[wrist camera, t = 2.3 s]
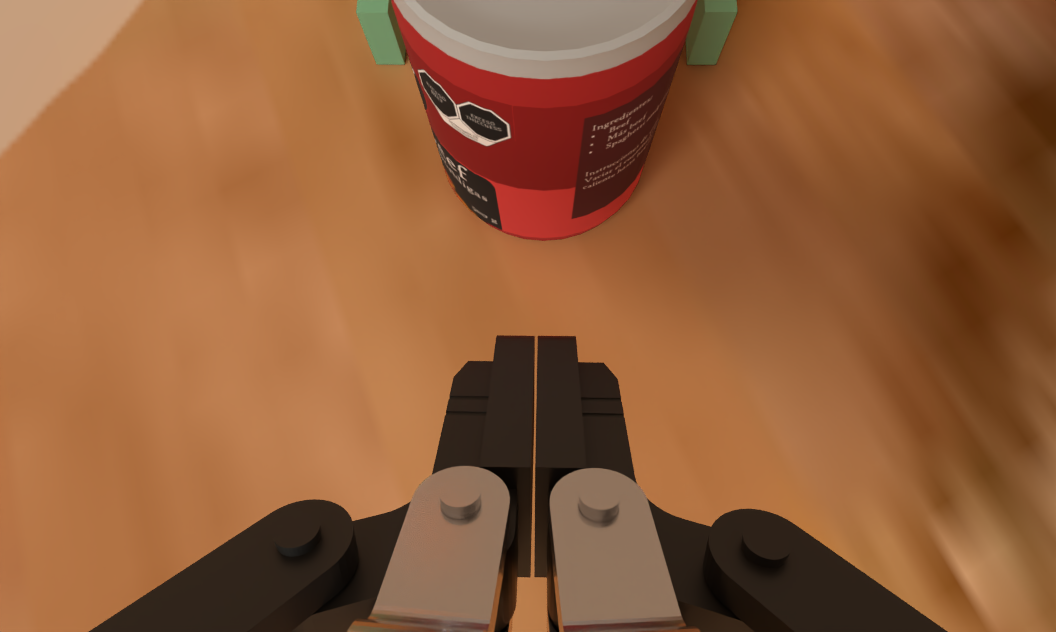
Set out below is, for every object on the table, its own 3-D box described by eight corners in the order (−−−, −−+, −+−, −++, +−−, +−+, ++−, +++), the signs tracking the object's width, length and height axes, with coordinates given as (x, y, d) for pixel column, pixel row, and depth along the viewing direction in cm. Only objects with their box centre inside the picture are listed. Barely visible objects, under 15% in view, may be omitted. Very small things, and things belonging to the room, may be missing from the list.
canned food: (441, 85, 26) (373, -189, 15) (630, 71, 26) (691, -213, 15) (447, 254, 24) (373, 74, 13) (651, 240, 24) (739, 47, 13)
